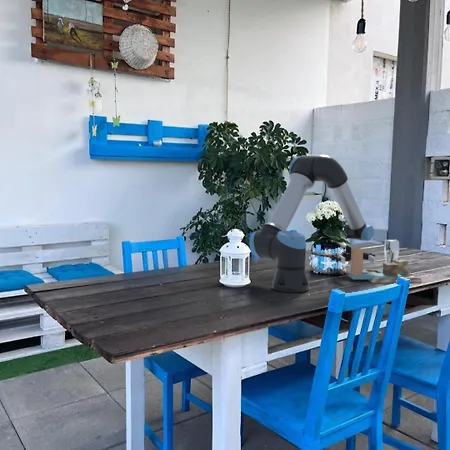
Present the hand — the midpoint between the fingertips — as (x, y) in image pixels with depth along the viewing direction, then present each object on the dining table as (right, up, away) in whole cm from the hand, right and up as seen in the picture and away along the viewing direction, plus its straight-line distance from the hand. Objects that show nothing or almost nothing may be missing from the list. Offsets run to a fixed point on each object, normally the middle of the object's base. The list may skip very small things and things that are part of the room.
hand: (359, 260), depth 206 cm
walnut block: (+15, -7, +5) cm, 17 cm away
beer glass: (+23, -7, +26) cm, 36 cm away
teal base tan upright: (+8, -8, +5) cm, 12 cm away
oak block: (+23, -6, +14) cm, 28 cm away
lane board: (+16, -9, +10) cm, 21 cm away
